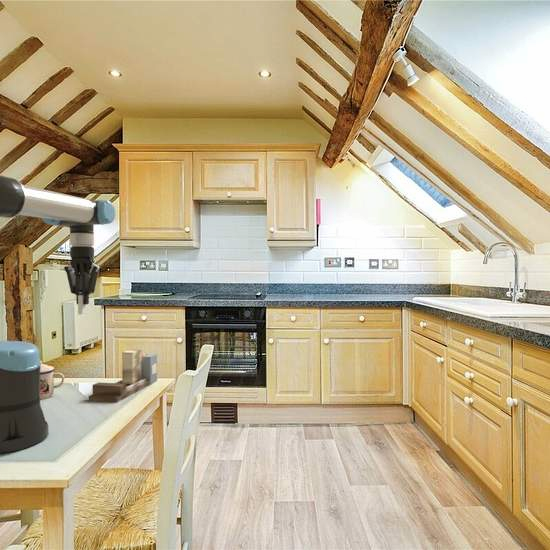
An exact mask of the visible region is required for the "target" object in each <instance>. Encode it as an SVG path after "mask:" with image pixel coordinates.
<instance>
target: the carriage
mask: <svg viewBox="0 0 550 550" xmlns="http://www.w3.org/2000/svg"><path fill="white" fill-rule="evenodd" d="M141 353H142V349H139V348H138V349H136V348H130V349H127V350H125V351H122V352H121V359H122V360H121V365H122V366H121V372H122V373H121V377H122V378H121V380H122V384H134V383H136V382H138V381H140V380H142V356H141Z"/></svg>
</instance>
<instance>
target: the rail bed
mask: <svg viewBox="0 0 550 550" xmlns="http://www.w3.org/2000/svg"><path fill="white" fill-rule="evenodd" d="M153 381H154V380H153ZM151 385H152V384H151V380H148V378H144V379H142V380H140V381H138V382H136V383H134V384H122V379H121V380H119V381H116V382H96V383H94V384H92V394H90V395H89V396H88V401H89V402H101V401H103V402H102V403H106V402H107V403H119V402H121V401H122V400H124V399H126V398H128V397H130V396H132V395H134V394H135V393H137V392H140V391H141V390H143V389H144V388H147V387H148V386H151Z"/></svg>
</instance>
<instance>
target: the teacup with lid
mask: <svg viewBox="0 0 550 550" xmlns="http://www.w3.org/2000/svg"><path fill="white" fill-rule="evenodd" d="M40 362H41V364H40V401H41V400H45V399H48V398H52V397H53V396H54V394H55V389H58V388H60V387H61V386H63V384H64V382H65V376H64V374H63V373H61V372H54V371H55V367H54V366H51V365H47V364H45V363H43V361H42V360H41V361H40ZM54 376H60V377H61V381H60V382H59V384H57V385H54V384H55V378H54Z"/></svg>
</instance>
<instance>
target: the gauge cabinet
mask: <svg viewBox="0 0 550 550" xmlns="http://www.w3.org/2000/svg"><path fill="white" fill-rule="evenodd" d="M144 378H148V380H151V384H150V385H153V384H154V383H156V382H157V381H158V354H157V353H155V354H154V353H145V356H142V379H144ZM153 380H154V381H153Z"/></svg>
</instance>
